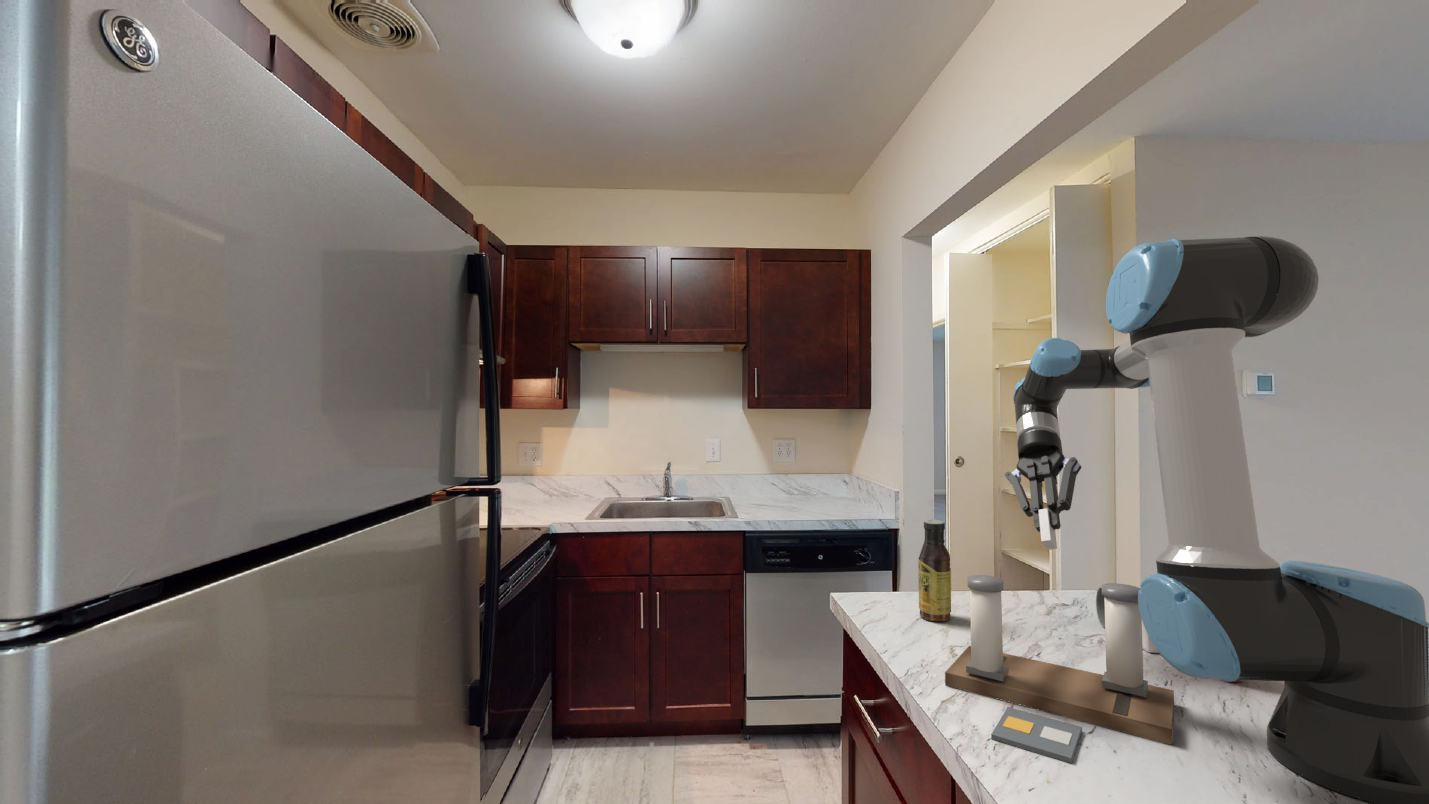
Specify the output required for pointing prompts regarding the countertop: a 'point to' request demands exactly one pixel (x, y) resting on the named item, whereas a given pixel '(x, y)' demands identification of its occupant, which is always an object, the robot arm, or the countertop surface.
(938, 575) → the sauce bottle
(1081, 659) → the countertop surface
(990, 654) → the far slider
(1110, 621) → the near slider
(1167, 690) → the brown wooden board
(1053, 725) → the card
